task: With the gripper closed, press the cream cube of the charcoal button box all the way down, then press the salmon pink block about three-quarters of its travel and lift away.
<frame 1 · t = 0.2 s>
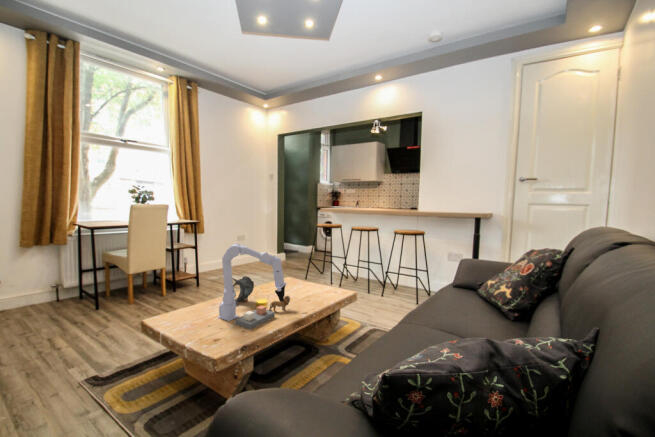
hand: (282, 298, 184), 11 cm above the table, tool pointing down, fingers open, 7 cm apart
lion figurine: (279, 310, 193), on the table
cream cube: (249, 316, 172), point 5 cm above the table, slide at 0.0 cm
button housing: (255, 320, 177), on the table
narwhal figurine: (242, 302, 205), on the table
salmon pink block: (261, 310, 181), point 5 cm above the table, slide at 0.0 cm
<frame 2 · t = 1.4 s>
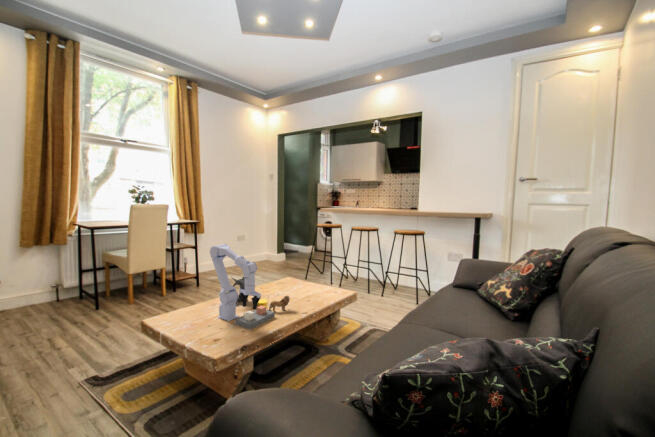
hand: (249, 307, 172), 9 cm above the table, tool pointing down, fingers open, 7 cm apart
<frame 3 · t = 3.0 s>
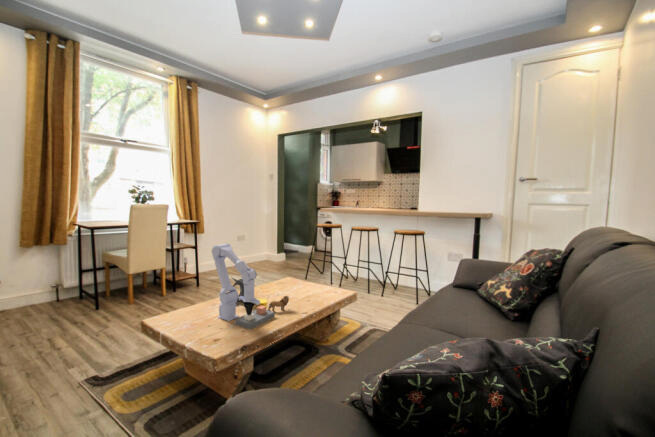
hand: (249, 314, 172), 5 cm above the table, tool pointing down, fingers closed, pressing on cream cube
cream cube: (249, 317, 172), point 4 cm above the table, slide at 1.0 cm, touching gripper
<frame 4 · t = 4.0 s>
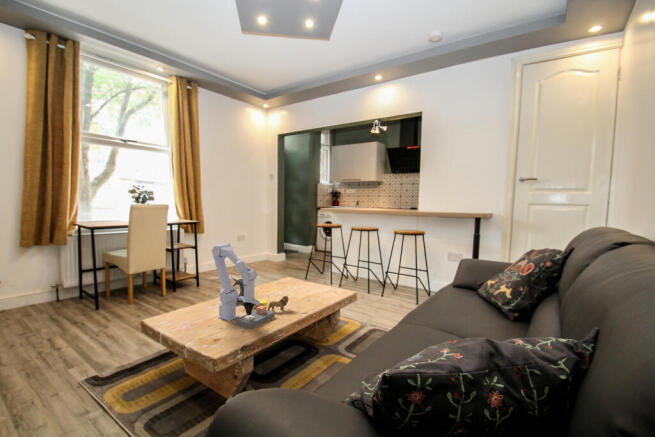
hand: (249, 314, 172), 5 cm above the table, tool pointing down, fingers closed
cream cube: (249, 320, 172), point 2 cm above the table, slide at 2.4 cm
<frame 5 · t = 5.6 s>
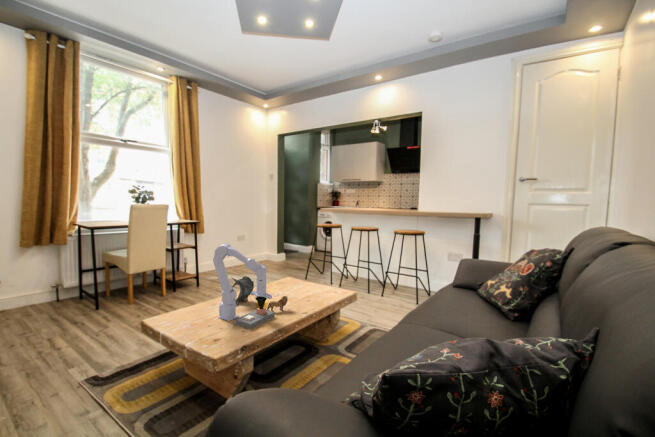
hand: (261, 308, 181), 6 cm above the table, tool pointing down, fingers closed, pressing on salmon pink block
salmon pink block: (261, 311, 181), point 4 cm above the table, slide at 0.8 cm, touching gripper
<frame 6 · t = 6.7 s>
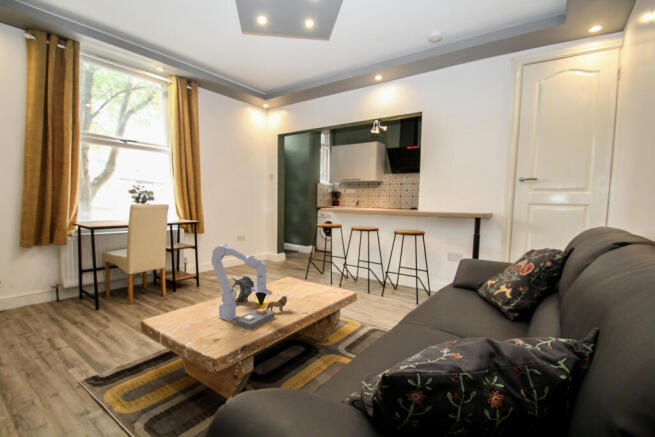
hand: (261, 304, 180), 8 cm above the table, tool pointing down, fingers closed
salmon pink block: (261, 313, 181), point 3 cm above the table, slide at 1.7 cm
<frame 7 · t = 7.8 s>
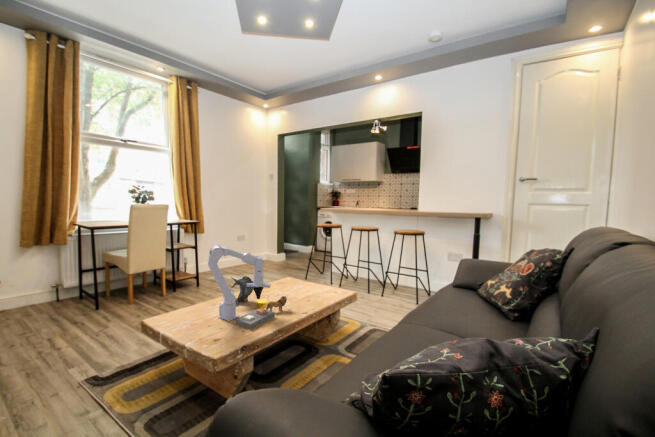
hand: (258, 298, 187), 9 cm above the table, tool pointing down, fingers closed
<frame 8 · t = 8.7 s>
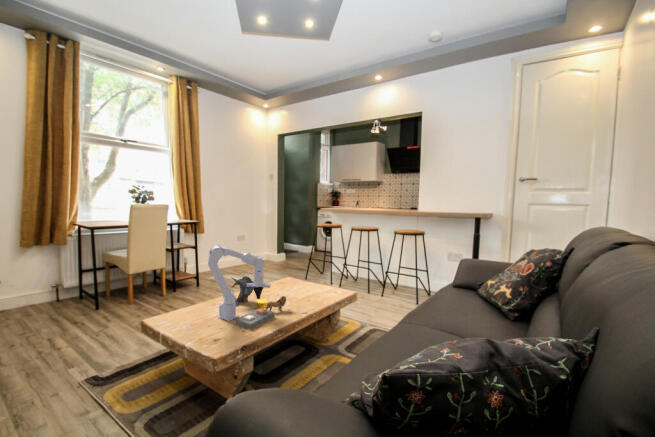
hand: (258, 298, 187), 9 cm above the table, tool pointing down, fingers closed
at the end: cream cube slide at 2.4 cm; salmon pink block slide at 1.7 cm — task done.
